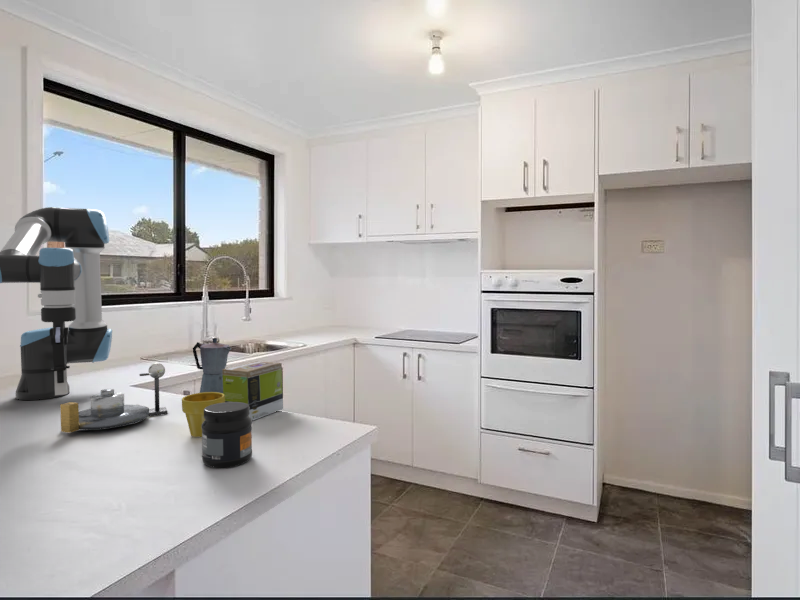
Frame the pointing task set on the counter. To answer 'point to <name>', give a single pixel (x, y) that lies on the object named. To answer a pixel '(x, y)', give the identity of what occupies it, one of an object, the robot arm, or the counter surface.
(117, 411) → the cover
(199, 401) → the plant pot
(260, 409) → the tea box
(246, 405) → the supplement container
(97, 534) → the counter surface
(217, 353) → the moka pot
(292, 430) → the counter surface
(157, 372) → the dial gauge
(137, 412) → the turntable
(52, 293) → the robot arm
